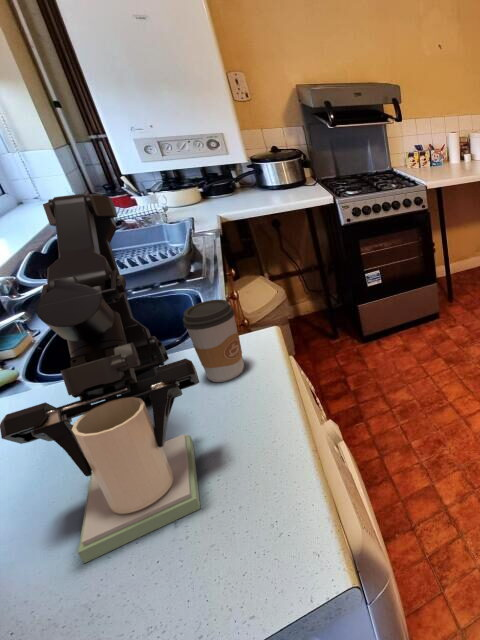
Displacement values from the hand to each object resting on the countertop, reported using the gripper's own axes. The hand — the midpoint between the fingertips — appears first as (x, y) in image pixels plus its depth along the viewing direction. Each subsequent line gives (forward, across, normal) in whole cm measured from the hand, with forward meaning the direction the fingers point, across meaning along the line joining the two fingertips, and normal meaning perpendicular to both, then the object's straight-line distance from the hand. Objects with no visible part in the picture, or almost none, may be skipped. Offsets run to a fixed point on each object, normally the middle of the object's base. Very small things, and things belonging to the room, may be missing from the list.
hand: (126, 460), depth 56 cm
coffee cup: (-14, +13, +29) cm, 34 cm away
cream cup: (+4, 0, +6) cm, 7 cm away
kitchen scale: (+4, 0, +10) cm, 11 cm away
